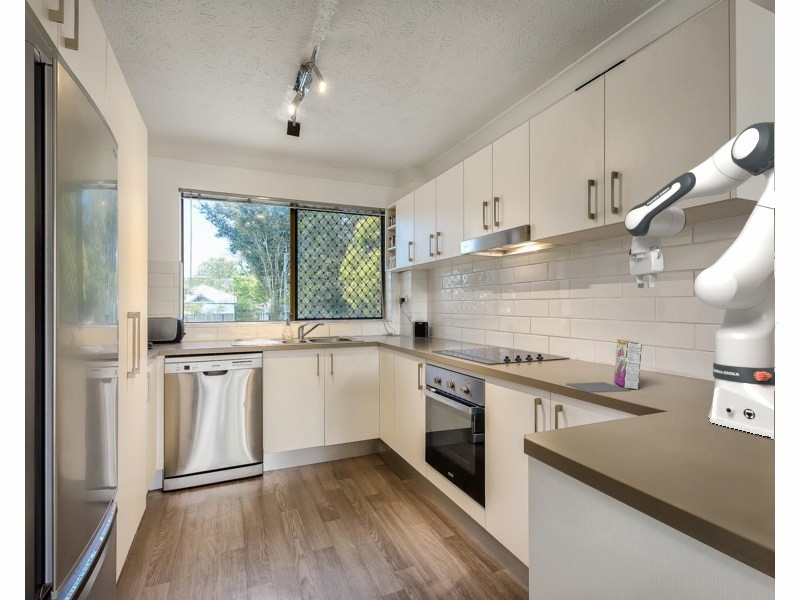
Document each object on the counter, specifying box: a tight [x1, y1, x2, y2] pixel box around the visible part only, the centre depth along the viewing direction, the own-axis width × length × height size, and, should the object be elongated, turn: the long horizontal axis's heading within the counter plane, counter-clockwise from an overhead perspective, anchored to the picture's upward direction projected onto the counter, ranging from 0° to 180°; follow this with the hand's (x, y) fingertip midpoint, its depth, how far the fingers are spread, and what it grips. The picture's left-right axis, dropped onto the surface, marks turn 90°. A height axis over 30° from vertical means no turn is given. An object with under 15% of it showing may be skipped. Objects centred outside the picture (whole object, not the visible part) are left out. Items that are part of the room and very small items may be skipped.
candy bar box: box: [613, 338, 643, 390], centre depth 142 cm, size 11×5×16 cm, turn 168°
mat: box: [565, 381, 632, 393], centre depth 141 cm, size 14×16×1 cm
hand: (645, 287), depth 140 cm, fingers open, 8 cm apart
